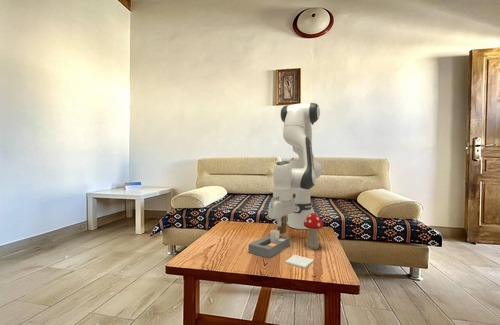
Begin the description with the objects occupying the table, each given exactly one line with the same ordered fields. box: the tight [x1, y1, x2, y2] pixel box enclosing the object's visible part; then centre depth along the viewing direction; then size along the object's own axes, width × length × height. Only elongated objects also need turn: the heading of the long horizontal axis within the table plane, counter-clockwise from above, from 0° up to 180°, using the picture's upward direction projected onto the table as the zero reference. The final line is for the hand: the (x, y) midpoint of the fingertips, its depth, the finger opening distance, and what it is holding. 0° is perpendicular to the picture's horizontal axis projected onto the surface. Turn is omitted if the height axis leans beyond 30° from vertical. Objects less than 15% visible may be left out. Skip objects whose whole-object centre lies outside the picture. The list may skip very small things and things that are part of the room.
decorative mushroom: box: [304, 212, 324, 250], centre depth 107 cm, size 10×9×15 cm
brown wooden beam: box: [277, 215, 287, 235], centre depth 112 cm, size 3×3×10 cm
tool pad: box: [285, 254, 314, 269], centre depth 90 cm, size 8×8×1 cm
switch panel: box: [248, 234, 291, 259], centre depth 103 cm, size 18×10×4 cm, turn 144°
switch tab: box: [269, 229, 280, 243], centre depth 107 cm, size 3×3×5 cm
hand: (282, 225), depth 112 cm, fingers closed on brown wooden beam, 3 cm apart
